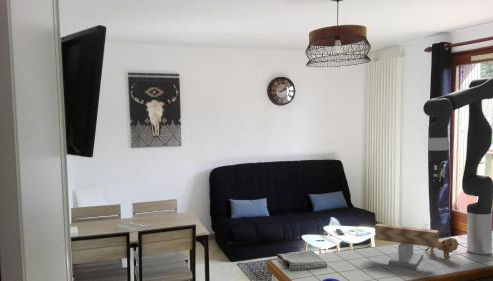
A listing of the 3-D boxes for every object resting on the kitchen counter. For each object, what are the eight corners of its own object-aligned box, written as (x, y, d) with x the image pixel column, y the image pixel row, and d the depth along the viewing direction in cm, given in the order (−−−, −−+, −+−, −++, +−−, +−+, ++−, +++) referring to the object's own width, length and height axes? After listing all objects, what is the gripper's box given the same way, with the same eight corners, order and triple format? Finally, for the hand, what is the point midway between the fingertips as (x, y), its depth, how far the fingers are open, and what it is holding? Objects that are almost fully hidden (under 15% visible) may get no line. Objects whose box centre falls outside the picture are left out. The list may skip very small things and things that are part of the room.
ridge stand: (398, 253, 172) (398, 235, 171) (423, 257, 166) (422, 238, 166) (388, 265, 159) (388, 245, 158) (414, 269, 153) (414, 249, 153)
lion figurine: (461, 259, 162) (461, 237, 162) (454, 262, 159) (454, 240, 159) (428, 250, 175) (427, 230, 174) (421, 253, 172) (420, 232, 171)
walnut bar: (438, 245, 156) (438, 230, 156) (437, 247, 154) (436, 232, 153) (377, 237, 170) (377, 223, 170) (375, 239, 167) (374, 225, 167)
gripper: (446, 150, 149) (446, 192, 150) (451, 147, 161) (452, 186, 162) (424, 150, 154) (425, 191, 154) (431, 147, 165) (432, 185, 166)
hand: (439, 189), depth 158 cm, fingers open, 8 cm apart
